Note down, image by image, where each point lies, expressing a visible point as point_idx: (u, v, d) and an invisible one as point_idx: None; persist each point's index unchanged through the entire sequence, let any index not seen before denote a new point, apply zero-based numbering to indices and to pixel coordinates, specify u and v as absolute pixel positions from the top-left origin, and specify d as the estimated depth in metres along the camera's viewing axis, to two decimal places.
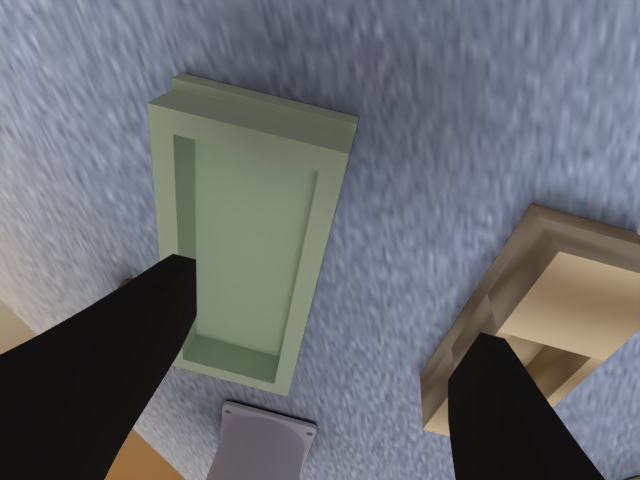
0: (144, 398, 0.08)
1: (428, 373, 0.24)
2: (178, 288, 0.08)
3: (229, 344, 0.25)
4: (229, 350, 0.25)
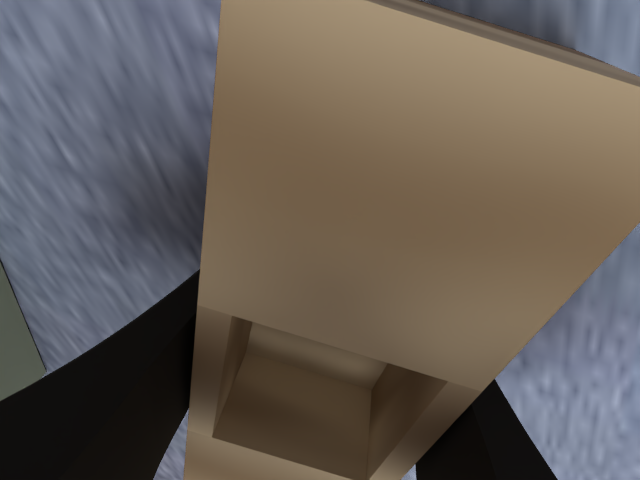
0: (183, 408, 0.08)
1: None
2: None
3: None
4: None
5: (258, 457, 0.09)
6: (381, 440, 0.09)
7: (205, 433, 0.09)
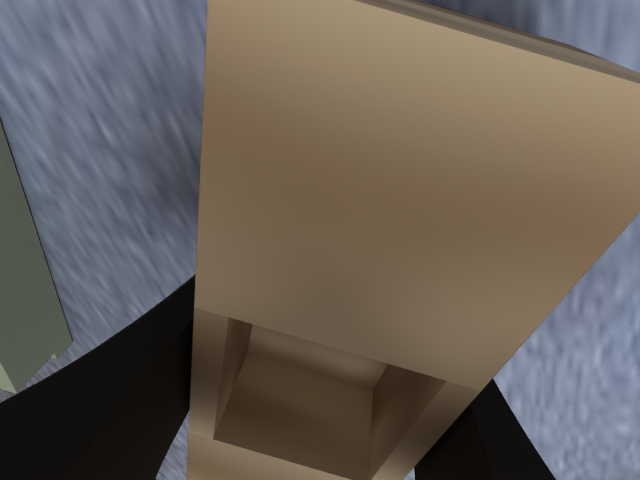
0: (185, 409, 0.08)
1: None
2: None
3: None
4: None
5: (260, 459, 0.09)
6: (382, 440, 0.09)
7: (206, 434, 0.09)
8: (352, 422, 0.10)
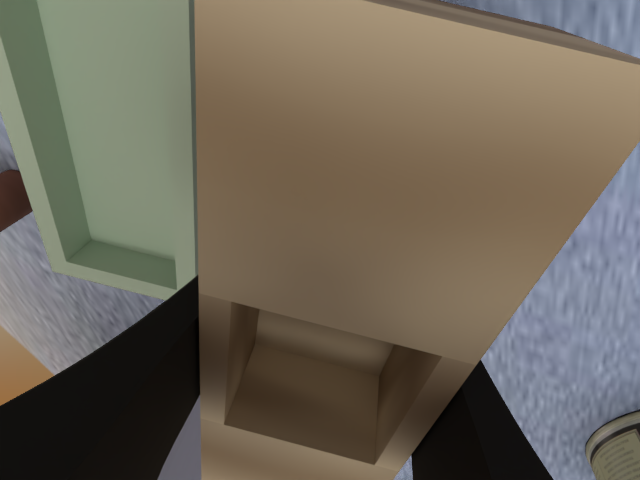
0: (187, 409, 0.08)
1: None
2: None
3: (131, 250, 0.21)
4: (129, 255, 0.21)
5: (269, 442, 0.09)
6: (387, 422, 0.09)
7: (217, 420, 0.09)
8: (359, 407, 0.10)
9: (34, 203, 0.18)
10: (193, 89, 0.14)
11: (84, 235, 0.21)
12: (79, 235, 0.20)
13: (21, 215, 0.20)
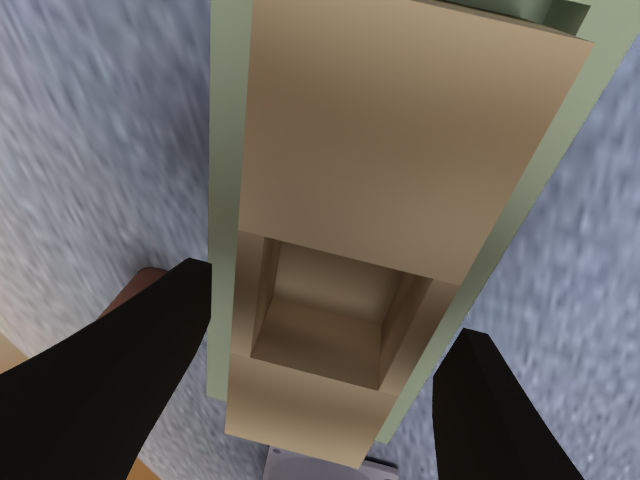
0: (161, 403, 0.08)
1: None
2: (195, 292, 0.08)
3: None
4: None
5: (288, 373, 0.11)
6: (389, 353, 0.11)
7: (244, 353, 0.11)
8: (364, 348, 0.12)
9: (213, 332, 0.14)
10: None
11: None
12: None
13: None
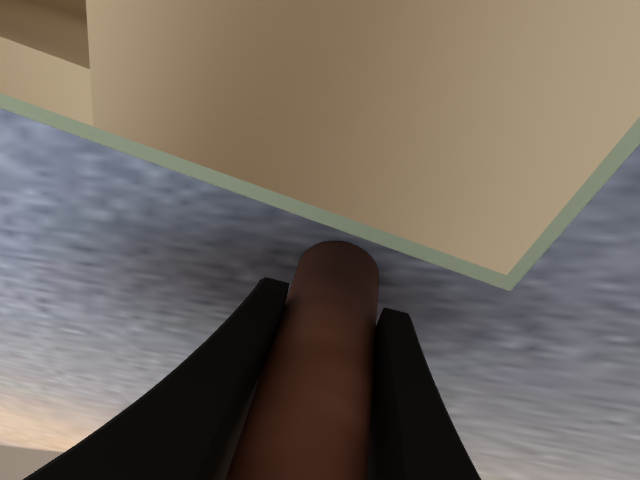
0: None
1: None
2: (278, 314, 0.08)
3: None
4: None
5: None
6: None
7: (79, 81, 0.04)
8: None
9: (285, 198, 0.07)
10: None
11: None
12: None
13: (363, 289, 0.09)
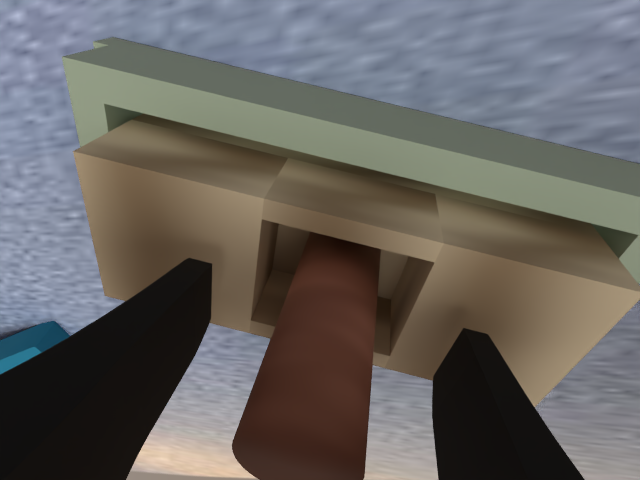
0: (161, 403, 0.08)
1: None
2: (195, 292, 0.08)
3: None
4: None
5: (412, 333, 0.11)
6: None
7: (384, 358, 0.12)
8: None
9: None
10: (275, 105, 0.10)
11: None
12: None
13: (367, 251, 0.11)
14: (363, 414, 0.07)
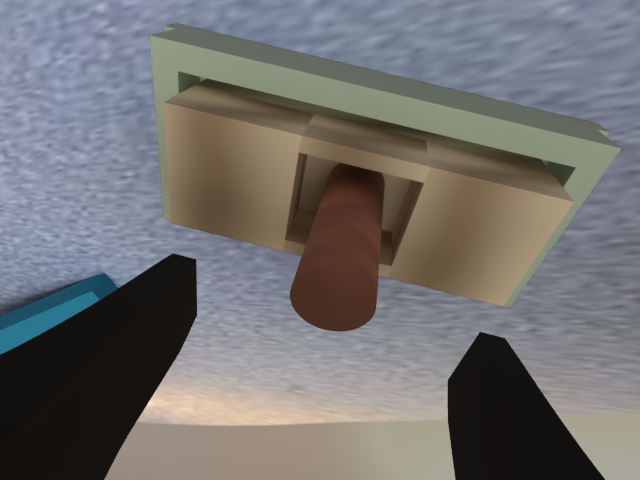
0: (144, 398, 0.08)
1: None
2: (178, 288, 0.08)
3: None
4: None
5: (408, 245, 0.14)
6: None
7: (387, 268, 0.15)
8: None
9: None
10: (307, 71, 0.14)
11: None
12: None
13: (374, 184, 0.14)
14: (374, 272, 0.11)
